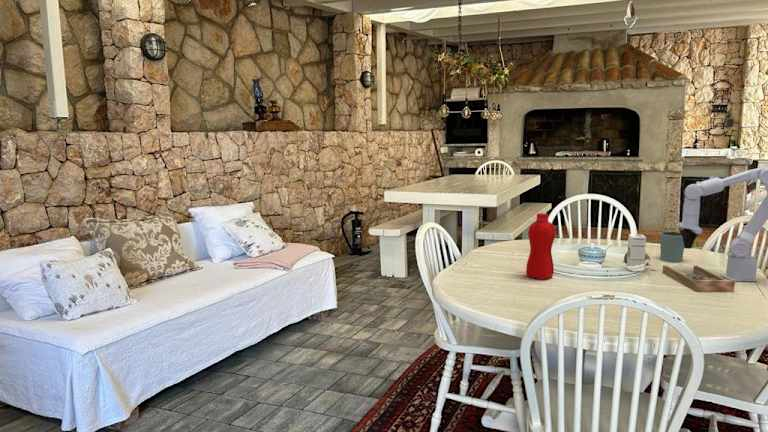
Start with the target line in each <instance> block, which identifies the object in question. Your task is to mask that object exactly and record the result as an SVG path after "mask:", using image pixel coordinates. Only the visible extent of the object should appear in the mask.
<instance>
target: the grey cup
mask: <svg viewBox="0 0 768 432" xmlns="http://www.w3.org/2000/svg"><path fill="white" fill-rule="evenodd" d="M659 235H660V237H659V238H660V254H659V255H660V261H663V262H668V263H681V262H682V263H683V258H684V252H685V248H684V243H683V238H682V235H681V233H680V231H675V230H674V231H673V230H666V231H665V230H664V231H661V232H660V234H659Z"/></svg>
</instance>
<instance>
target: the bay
mask: <svg viewBox="0 0 768 432" xmlns="http://www.w3.org/2000/svg"><path fill="white" fill-rule="evenodd" d="M692 273H693V275H695V274H696V276H699V275H700V276H702V277H705V278H708V279H709V278H711V279H712V278H715V279H717V280H695V281H694V280H693V279H691V278H689V277H687V276H685V274H683V273H681V272H679V271H677V270H675V269H674V268H671V267H670V266H668V265H662V274H664V275H666V276H667V277H668V278H669V277H670V278H671V279H672V280H674V281H677V282H678V283H680V284H682V285H684V286H685V287H688V289H690V290H692V291H694V292H697V293H700V292H701V293H702V292H703V293H705V292H706V293H713V292H714V293H718V292H719V293H721V292H722V293H734V292H735V285H736V281H734V280H729V279H727V278H725V277H724V278H723V276H721V275H720V276H719V275H717V274H715V273H713V272H711V271H709V270H707V269H704V268H703V267H700V266H698V265H693V269H692Z"/></svg>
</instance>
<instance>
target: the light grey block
mask: <svg viewBox="0 0 768 432" xmlns="http://www.w3.org/2000/svg"><path fill="white" fill-rule="evenodd" d="M627 253H628V251H626V253H625V254H624V258H623V261H624V262H625V263H626V262H627ZM646 259H649V261H650V255H649V253H647V252H646V251H645V260H646Z"/></svg>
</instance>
